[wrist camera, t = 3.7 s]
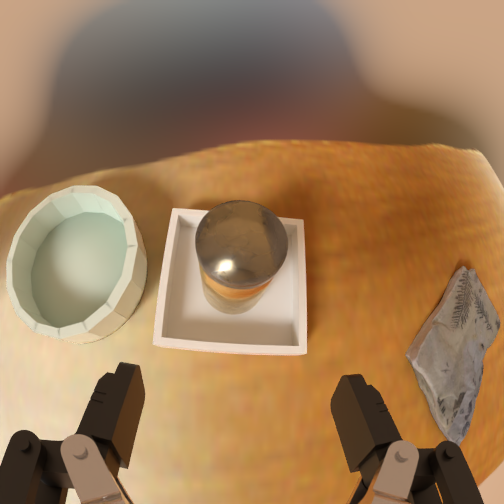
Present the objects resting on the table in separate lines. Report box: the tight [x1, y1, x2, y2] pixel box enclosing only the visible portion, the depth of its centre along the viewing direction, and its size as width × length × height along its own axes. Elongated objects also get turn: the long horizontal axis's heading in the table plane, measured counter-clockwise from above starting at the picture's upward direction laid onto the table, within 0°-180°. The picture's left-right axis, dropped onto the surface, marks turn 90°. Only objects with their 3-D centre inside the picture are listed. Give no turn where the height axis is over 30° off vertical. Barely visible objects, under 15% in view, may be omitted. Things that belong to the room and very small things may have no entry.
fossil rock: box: [405, 266, 500, 446], centre depth 23 cm, size 18×15×2 cm
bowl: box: [6, 185, 147, 344], centre depth 20 cm, size 13×13×4 cm
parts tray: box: [153, 208, 307, 355], centre depth 22 cm, size 11×11×2 cm
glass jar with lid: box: [195, 200, 288, 315], centre depth 19 cm, size 5×5×8 cm
